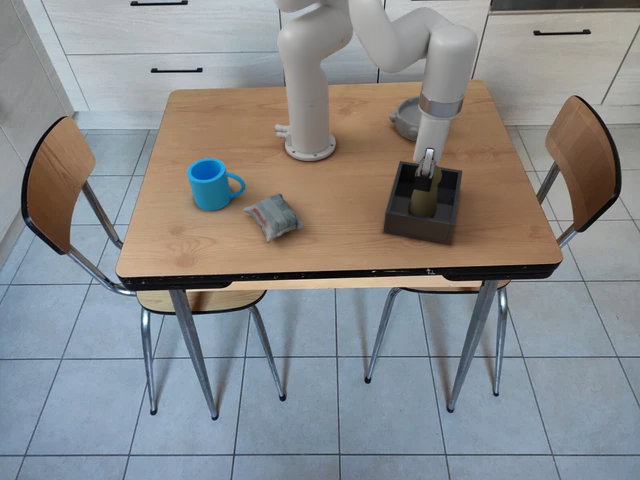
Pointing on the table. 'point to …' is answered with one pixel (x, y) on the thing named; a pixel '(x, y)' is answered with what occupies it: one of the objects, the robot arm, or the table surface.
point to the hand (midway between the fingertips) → (425, 173)
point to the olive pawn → (426, 197)
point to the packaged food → (274, 216)
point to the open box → (419, 226)
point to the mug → (212, 183)
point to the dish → (407, 118)
